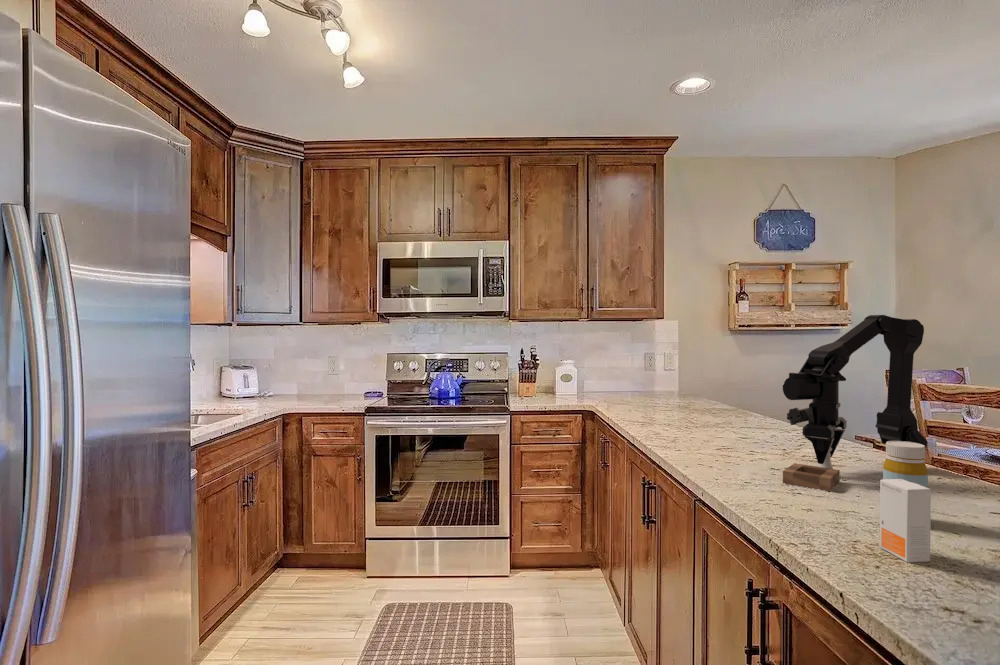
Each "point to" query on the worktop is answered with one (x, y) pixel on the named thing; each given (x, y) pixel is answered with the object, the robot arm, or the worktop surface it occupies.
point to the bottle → (905, 462)
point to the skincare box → (905, 519)
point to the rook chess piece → (826, 461)
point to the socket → (811, 476)
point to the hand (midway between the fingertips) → (825, 460)
